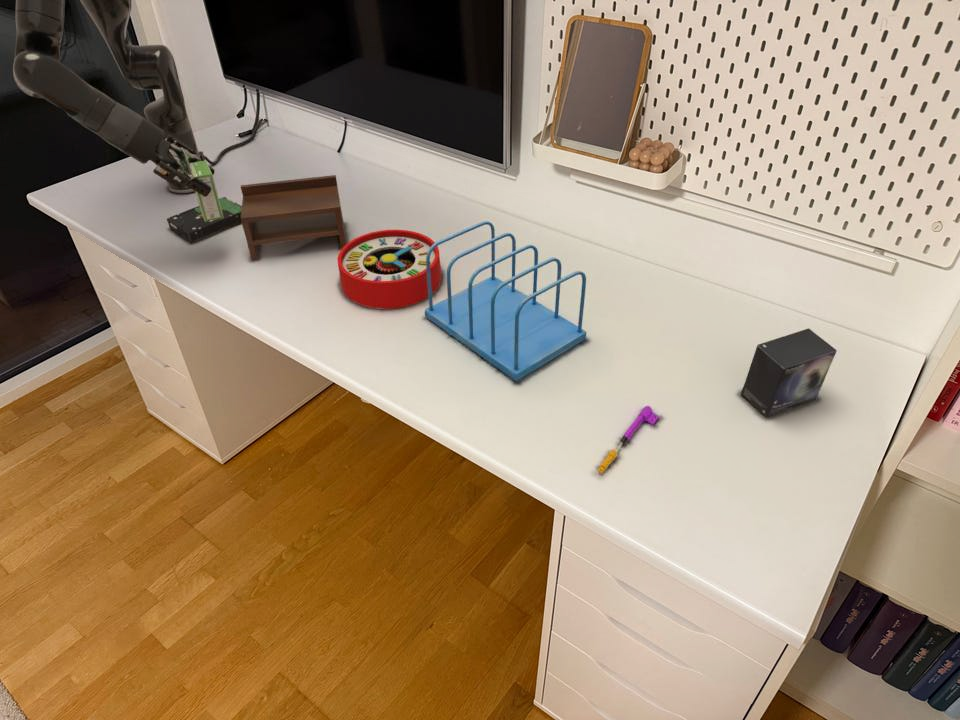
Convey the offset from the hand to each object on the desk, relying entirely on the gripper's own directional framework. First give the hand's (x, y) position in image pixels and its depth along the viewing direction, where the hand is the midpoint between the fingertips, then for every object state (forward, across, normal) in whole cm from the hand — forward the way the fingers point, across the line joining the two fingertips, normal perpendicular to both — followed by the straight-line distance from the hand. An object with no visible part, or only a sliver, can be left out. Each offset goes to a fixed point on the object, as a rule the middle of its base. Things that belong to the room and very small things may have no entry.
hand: (210, 183), depth 139 cm
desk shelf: (+22, +1, +1) cm, 22 cm away
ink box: (+4, 0, +6) cm, 7 cm away
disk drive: (+8, +14, +15) cm, 22 cm away
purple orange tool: (+55, -72, -34) cm, 97 cm away
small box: (+74, -68, -53) cm, 114 cm away
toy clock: (+34, -19, -12) cm, 41 cm away
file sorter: (+47, -40, -25) cm, 67 cm away
